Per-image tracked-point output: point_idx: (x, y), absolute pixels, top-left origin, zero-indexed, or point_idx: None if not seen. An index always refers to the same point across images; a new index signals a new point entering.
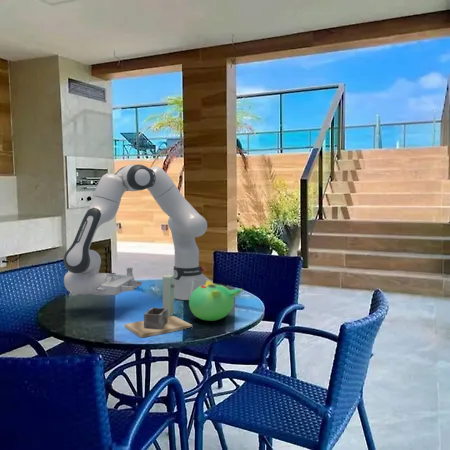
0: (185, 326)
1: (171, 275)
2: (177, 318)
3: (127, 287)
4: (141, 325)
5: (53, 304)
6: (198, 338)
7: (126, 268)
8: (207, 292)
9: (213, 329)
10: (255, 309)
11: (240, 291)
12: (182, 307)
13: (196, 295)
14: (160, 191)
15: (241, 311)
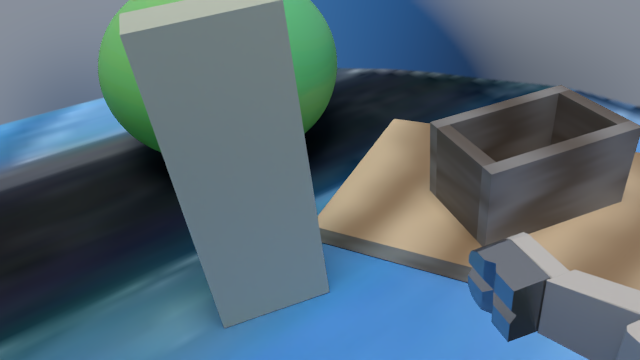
0: (427, 125)
1: (173, 6)
2: (347, 189)
3: (590, 287)
4: (605, 234)
5: None
6: (476, 82)
7: None
8: None
9: (357, 96)
10: (42, 120)
11: None
12: (30, 337)
13: (308, 17)
14: None
15: (81, 133)
